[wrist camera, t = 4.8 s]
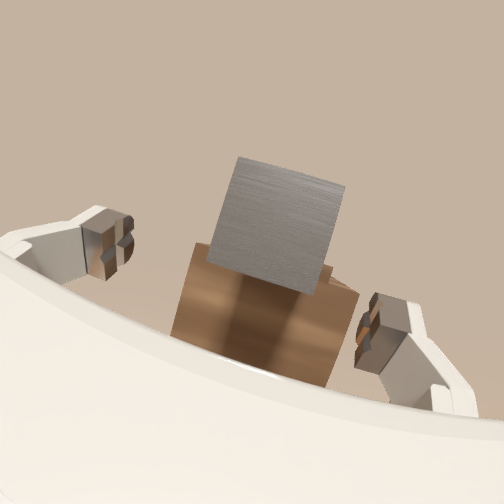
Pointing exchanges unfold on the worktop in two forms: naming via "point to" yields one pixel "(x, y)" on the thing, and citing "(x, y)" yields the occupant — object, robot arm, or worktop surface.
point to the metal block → (276, 225)
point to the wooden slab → (264, 319)
